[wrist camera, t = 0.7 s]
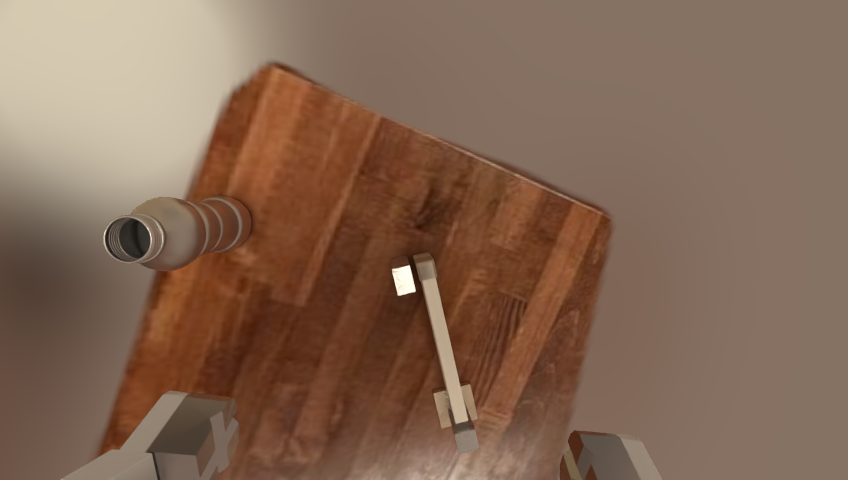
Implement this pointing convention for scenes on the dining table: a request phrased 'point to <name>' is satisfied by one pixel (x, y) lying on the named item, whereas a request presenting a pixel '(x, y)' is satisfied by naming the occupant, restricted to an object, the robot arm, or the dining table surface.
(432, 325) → the gate
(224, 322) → the dining table surface
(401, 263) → the post
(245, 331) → the dining table surface
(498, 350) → the dining table surface
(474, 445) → the hinge post
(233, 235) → the plastic bottle
